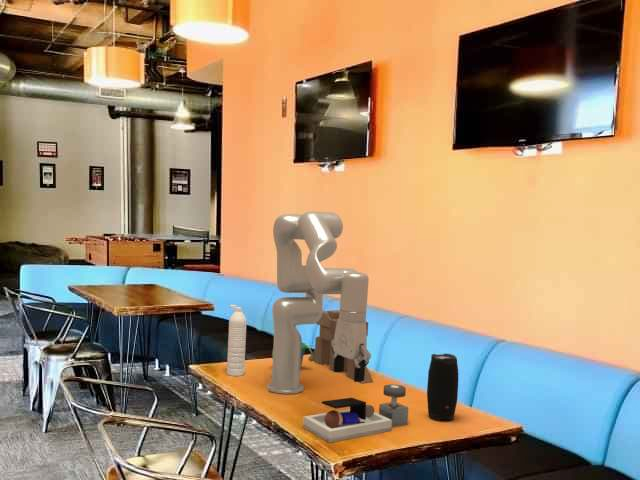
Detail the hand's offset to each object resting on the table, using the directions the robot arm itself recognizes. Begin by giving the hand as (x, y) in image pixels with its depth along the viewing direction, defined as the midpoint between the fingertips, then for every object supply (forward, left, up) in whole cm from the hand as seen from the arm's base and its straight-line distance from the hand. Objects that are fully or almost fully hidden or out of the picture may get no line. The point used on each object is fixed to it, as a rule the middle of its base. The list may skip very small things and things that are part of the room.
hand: (348, 376), depth 169 cm
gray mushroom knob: (+2, +15, -11) cm, 19 cm away
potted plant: (-64, +20, -15) cm, 68 cm away
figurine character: (0, 0, -14) cm, 14 cm away
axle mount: (+2, +15, -15) cm, 21 cm away
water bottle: (-67, -3, -15) cm, 68 cm away
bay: (+1, 0, -15) cm, 15 cm away
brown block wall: (-56, +37, -15) cm, 68 cm away
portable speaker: (+5, +32, -15) cm, 36 cm away
